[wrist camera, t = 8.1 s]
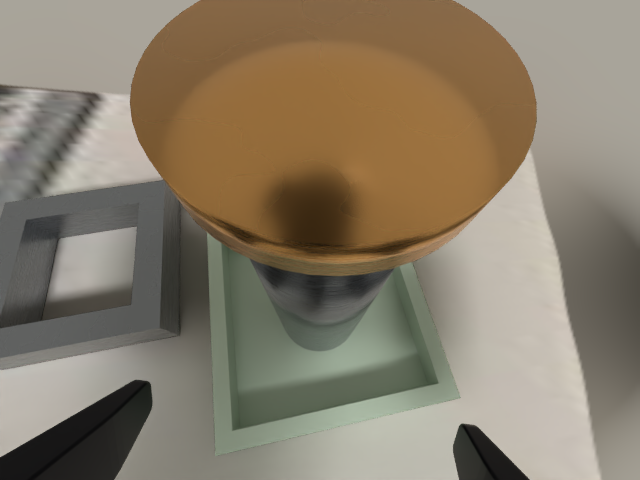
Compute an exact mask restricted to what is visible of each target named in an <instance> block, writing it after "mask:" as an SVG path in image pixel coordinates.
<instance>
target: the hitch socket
mask: <svg viewBox="0 0 640 480" xmlns="http://www.w3.org/2000/svg"><path fill="white" fill-rule="evenodd" d="M134 226H137V237H136V249H135V262H134V275H133V287H132V300H131V305H127V306H121V307H116V308H110V309H105V310H99V311H94V312H88V313H83V314H77V315H72V316H66V317H61V318H55V319H50V320H44V321H41V318H42V313H43V308H44V304H45V299H46V294H47V289H48V284H49V279H50V275H51V270H52V265H53V260H54V255H55V251H56V246H57V241H58V238H64V237H70V236H77V235H83V234H89V233H96V232H102V231H109V230H115V229H121V228H128V227H134ZM179 306H180V202H179V200H178V199H177V198H176V196H175V195H174V193H173V192H172V191H171V189H170V188H169V186H168V185H167V184H166V182H165V181H164V180H162V181H155V182H148V183H141V184H134V185H127V186H120V187H113V188H106V189H99V190H92V191H85V192H78V193H71V194H64V195H57V196H50V197H43V198H36V199H29V200H22V201H15V202H8V203H5V205H4V209H3V212H2V215H1V218H0V370H5V369H10V368H15V367H20V366H25V365H30V364H36V363H41V362H46V361H51V360H56V359H61V358H66V357H72V356H77V355H82V354H87V353H92V352H97V351H102V350H108V349H113V348H118V347H123V346H128V345H133V344H138V343H143V342H149V341H154V340H159V339H164V338H169V337H174V336H179Z"/></svg>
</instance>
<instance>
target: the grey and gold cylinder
mask: <svg viewBox="0 0 640 480" xmlns="http://www.w3.org/2000/svg"><path fill="white" fill-rule="evenodd" d="M130 107H131V116H132V122H133V125H134V128H135V131H136V134H137V137H138V140H139V142H140V144H141V146H142V148H143V149H144V151H145V153H146V155H147V156H148V158H149V160H150V161H151V163H152V164H153V166H154V167H155V168H156V170H157V171H158V173H159V174H160V175H161V177H162V178H163V179H164V181H165V182H166V184H167V185H168V186H169V188H170V189H171V191H172V192H173V193H174V195H175V196H176V198H177V199H178V200H179V202H180V203H181V204H182V206H183V207H184V208H185V210H186V211H187V212H188V213H189V214H190V216H191V217H192V218H193V219H194V220H195V222H196V223H197V224H198V225H199V226H201V227H202V228H203V229H204V230H205V231H206V232H207V233H209V234H210V235H211V236H212V237H213V238H214V239H216V240H218V241H219V242H221V243H222V244H224V245H225V246H227V247H228V248H230V249H232V250H233V251H235V252H237V253H239V254H241V255H243V256H246V257H248V258H249V259H250V261H251V263H252V265H253V267H254V269H255V271H256V273H257V275H258V277H259V279H260V281H261V283H262V285H263V287H264V289H265V291H266V293H267V295H268V297H269V299H270V301H271V303H272V305H273V307H274V309H275V311H276V313H277V315H278V317H279V319H280V321H281V323H282V325H283V327H284V329H285V331H286V333H287V334H288V336H289V337H290V338H291V339H292V340H293V341H294V342H295V343H296V344H298V345H299V346H301V347H303V348H305V349H308V350H311V351H327V350H331V349H334V348H336V347H338V346H340V345H341V344H342V343H344V342H345V341H346V340H347V339H348V338H349V336H350V335H351V334H352V332H353V331H354V329H355V328H356V326H357V325H358V323H359V322H360V320H361V319H362V317H363V316H364V314H365V313H366V311H367V310H368V308H369V307H370V305H371V304H372V302H373V301H374V299H375V298H376V296H377V295H378V293H379V292H380V290H381V289H382V287H383V286H384V284H385V283H386V281H387V280H388V278H389V277H390V275H391V274H392V272H393V271H394V269H395V268H396V267H398V266H401V265H404V264H407V263H410V262H413V261H416V260H418V259H420V258H422V257H424V256H426V255H428V254H430V253H431V252H433V251H435V250H437V249H439V248H440V247H442V246H443V245H444V244H446V243H447V242H449V241H450V240H451V239H453V238H454V237H456V236H457V235H458V234H459V233H460V232H461V231H462V230H463V229H464V228H465V227H466V226H467V225H468V224H469V223H470V222H471V221H472V220H473V219H474V218H475V217H476V216H477V214H478V213H479V212H480V211H481V210H482V209H483V208H484V207H485V206H486V205H487V204H488V203H489V202H490V201H491V199H492V198H493V197H494V196H495V195H496V194H497V193H498V192H499V191H500V190H501V189H502V188H503V187H504V186H505V184H506V183H507V182H508V181H509V180H510V179H511V178H512V177H513V175H514V174H515V172H516V171H517V169H518V168H519V167H520V165H521V164H522V162H523V161H524V159H525V157H526V155H527V152H528V150H529V148H530V145H531V143H532V141H533V136H534V131H535V127H536V122H537V121H536V119H537V117H536V99H535V94H534V89H533V85H532V82H531V80H530V77H529V75H528V72H527V70H526V68H525V66H524V64H523V63H522V61H521V59H520V58H519V56H518V54H517V53H516V52H515V50H514V49H513V48H512V47H511V45H510V44H509V43H508V42H507V41H506V39H505V38H504V37H503V36H501V34H499V33H498V32H497V31H496V30H495V29H494V28H493V27H492V26H491V25H490V24H488V23H487V22H486V21H485V20H483V19H482V18H480V17H479V16H478V15H477V14H475V13H473V12H472V11H470V10H469V9H467V8H465V7H463V6H462V5H461V4H459V3H457V2H455V1H453V0H200V1H198V2H197V3H195V4H194V5H192V6H190V7H189V8H187V9H186V10H184V11H183V12H181V13H180V14H179V15H178V16H176V17H175V18H174V19H173V20H171V21H170V22H169V23H168V24H167V25H166V26H165V27H164V28H163V29H162V30H161V31H160V32H159V33H158V34H157V35H156V36H155V37H154V39H153V40H152V41H151V43H150V44H149V46H148V47H147V49H146V50H145V51H144V53H143V55H142V57H141V59H140V61H139V63H138V65H137V67H136V71H135V74H134V78H133V81H132V85H131V96H130Z"/></svg>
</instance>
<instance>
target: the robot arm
mask: <svg viewBox="0 0 640 480" xmlns="http://www.w3.org/2000/svg"><path fill="white" fill-rule="evenodd" d="M151 409H152V392H151V384H150V382H148V381H142V380H134V381H132V382H130V383H129V384H127V385H125V386H123V387H122V388H120V389H118V390H116V391H115V392H113V393H111V394H110V395H108V396H106V397H104V398H103V399H101V400H99V401H97V402H96V403H94V404H92V405H90V406H89V407H87V408H85V409H83V410H82V411H80V412H78V413H77V414H75V415H73V416H71V417H70V418H68V419H66V420H64V421H63V422H61V423H59V424H57V425H56V426H54V427H52V428H50V429H49V430H47V431H45V432H44V433H42V434H40V435H38V436H37V437H35V438H33V439H31V440H30V441H28V442H26V443H24V444H23V445H21V446H19V447H17V448H16V449H14V450H12V451H11V452H9V453H7V454H5V455H4V456H2V457H0V480H114V479H115V477H116V476H117V474H118V472H119V471H120V469H121V467H122V465H123V464H124V462H125V460H126V458H127V456H128V454H129V452H130V450H131V448H132V446H133V444H134V443H135V441H136V439H137V437H138V435H139V433H140V431H141V429H142V427H143V425H144V423H145V421H146V419H147V417H148V415H149V413H150V411H151ZM453 453H454V458H455V463H456V467H457V472H458V477H459V480H530V479H529V478H528V477H527V476H526V475H525V474H524V473H523V472H522V471H521V470H520V469H519V468H518V467H517V466H516V465H515V464H514V463H513V462H512V461H511V460H510V459H509V458H508V457H507V456H506V455H505V454H504V453H503V452H502V451H501V450H500V449H499V448H498V447H497V446H496V445H495V444H494V443H493V442H492V441H491V440H490V439H489V438H488V437H487V436H486V435H485V434H484V433H483V432H482V431H481V430H480V429H479V428H478V427H477V426H475V425H470V424H461V425H460V426H459V428H458V431H457V435H456V438H455V441H454V445H453Z"/></svg>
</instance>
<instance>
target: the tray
mask: <svg viewBox="0 0 640 480" xmlns="http://www.w3.org/2000/svg"><path fill="white" fill-rule="evenodd" d="M207 247H208V274H209V301H210V327H211V354H212V381H213V407H214V434H215V456H218V455H222V454H227V453H231V452H235V451H239V450H243V449H248V448H252V447H256V446H260V445H265V444H269V443H273V442H277V441H281V440H286V439H290V438H294V437H298V436H302V435H307V434H311V433H315V432H319V431H324V430H328V429H332V428H336V427H340V426H345V425H349V424H353V423H357V422H361V421H366V420H370V419H374V418H378V417H383V416H387V415H391V414H395V413H399V412H404V411H408V410H412V409H416V408H420V407H425V406H429V405H433V404H437V403H442V402H446V401H450V400H454V399H458V398H461V397H460V394H459V392H458V389H457V386H456V383H455V380H454V378H453V375H452V372H451V369H450V367H449V364H448V361H447V358H446V355H445V353H444V350H443V347H442V344H441V341H440V339H439V336H438V333H437V330H436V328H435V325H434V322H433V319H432V316H431V314H430V311H429V308H428V305H427V303H426V300H425V297H424V294H423V291H422V289H421V286H420V283H419V280H418V278H417V275H416V272H415V269H414V266H413V264H412V262H410V263H407V264H404V265H401V266H398V267H396V268H395V269H394V271H393V272H392V274H391V275H390V277H389V278H388V280H387V281H386V283H385V284H384V286H383V287H382V289H381V290H380V292H379V293H378V295H377V296H376V298H375V299H374V301H373V302H372V304H371V305H370V307H369V308H368V310H367V311H366V313H365V314H364V316H363V317H362V319H361V320H360V322H359V323H358V325H357V326H356V328H355V329H354V331H353V332H352V334H351V335H350V336H349V338H348V339H347V340H346V341H345V342H344V343H342V344H341V345H340V346H338V347H336V348H334V349H331V350H327V351H311V350H308V349H305V348H303V347H301V346H299V345H298V344H296V343H295V342H294V341H293V340H292V339H291V338H290V337H289V336H288V334H287V333H286V331H285V329H284V327H283V325H282V323H281V321H280V319H279V317H278V315H277V313H276V311H275V309H274V307H273V305H272V303H271V301H270V299H269V297H268V295H267V293H266V291H265V289H264V287H263V285H262V283H261V281H260V279H259V277H258V275H257V273H256V271H255V269H254V267H253V265H252V263H251V261H250V259H249V258H248V257H246V256H243V255H241V254H239V253H237V252H235V251H233V250H232V249H230V248H228V247H227V246H225V245H224V244H222V243H221V242H219V241H218V240H216V239H214V238H213V237H212V236H211V235H210V234H209V233H207Z"/></svg>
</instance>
